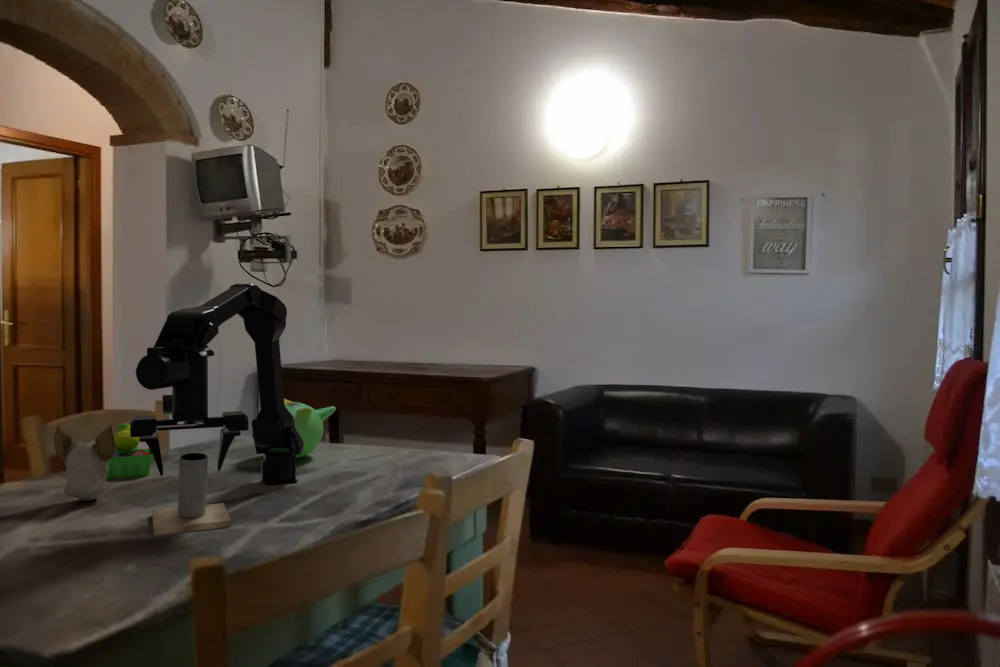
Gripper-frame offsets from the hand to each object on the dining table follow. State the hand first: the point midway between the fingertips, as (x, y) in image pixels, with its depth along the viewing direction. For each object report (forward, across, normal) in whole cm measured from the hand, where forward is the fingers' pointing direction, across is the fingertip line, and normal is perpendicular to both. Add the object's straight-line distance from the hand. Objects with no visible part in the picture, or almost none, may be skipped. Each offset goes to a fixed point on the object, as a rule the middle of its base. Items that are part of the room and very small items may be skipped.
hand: (190, 472), depth 130 cm
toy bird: (+9, -26, -48) cm, 55 cm away
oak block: (+9, 0, 0) cm, 9 cm away
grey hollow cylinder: (+7, 0, 0) cm, 7 cm away
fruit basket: (+9, +11, -43) cm, 45 cm away
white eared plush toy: (+9, +17, -21) cm, 28 cm away
